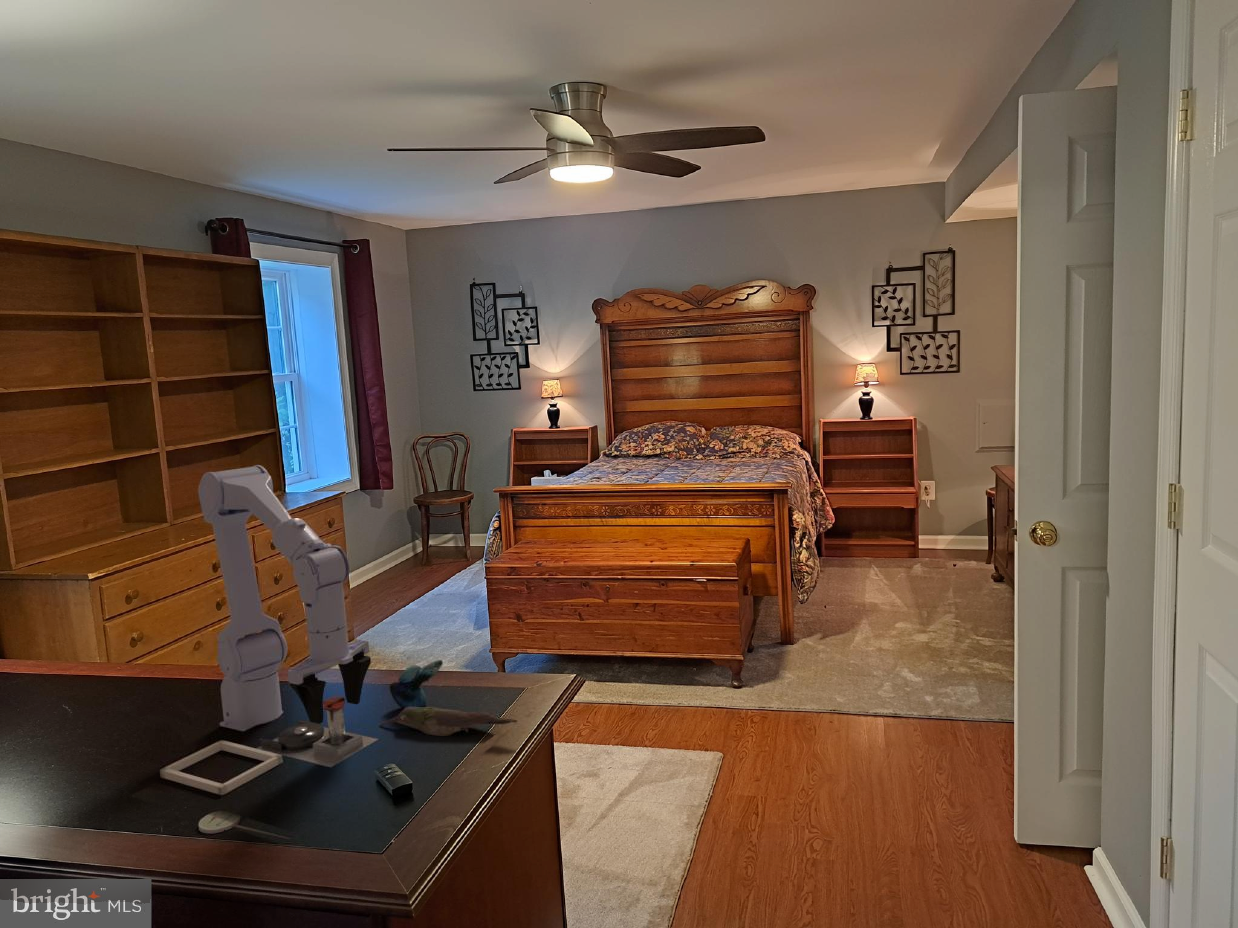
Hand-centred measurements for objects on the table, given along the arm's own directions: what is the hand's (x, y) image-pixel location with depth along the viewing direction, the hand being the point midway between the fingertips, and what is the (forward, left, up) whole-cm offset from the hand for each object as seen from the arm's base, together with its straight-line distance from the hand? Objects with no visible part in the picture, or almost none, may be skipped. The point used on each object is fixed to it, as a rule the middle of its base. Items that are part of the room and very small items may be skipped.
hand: (335, 712), depth 135 cm
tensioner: (-5, 0, -7) cm, 9 cm away
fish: (+1, +17, -7) cm, 19 cm away
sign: (+4, -21, -8) cm, 22 cm away
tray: (-12, -12, -7) cm, 18 cm away
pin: (0, 0, -6) cm, 6 cm away
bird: (+11, +12, -8) cm, 18 cm away
